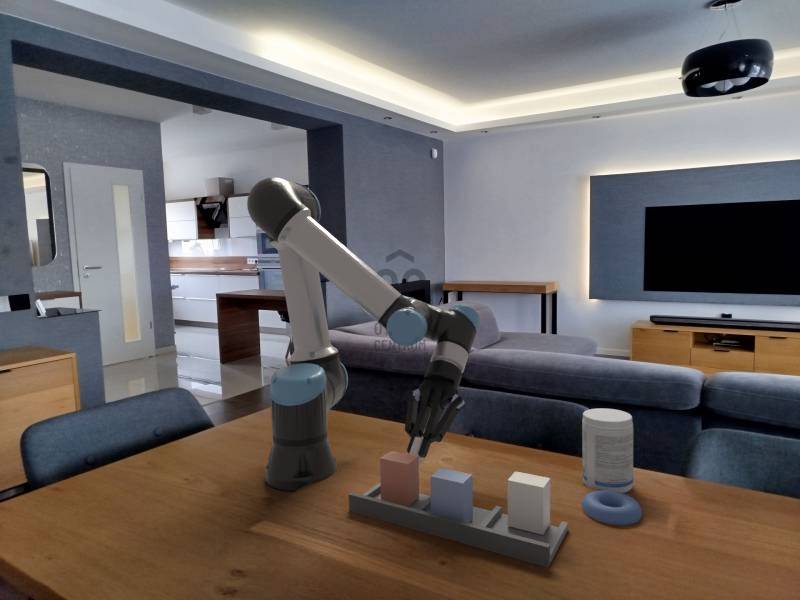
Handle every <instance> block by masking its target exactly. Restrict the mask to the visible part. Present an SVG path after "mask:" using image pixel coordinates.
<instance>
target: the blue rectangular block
mask: <svg viewBox="0 0 800 600" xmlns="http://www.w3.org/2000/svg"><path fill="white" fill-rule="evenodd" d="M473 478H474V477H473V473H467V472H462V471H458V470H453V469H449V468H444V467H440V468H439V469H437V470H436V471H435V472H434V473H433V474H432V475H430V496H431V513H433V514H437V515H441V516H445V517H449V518H452V519H456V520H460V521H464V522H468V523H470V522H471V521H472V520H473V506H474V496H473V494H474V490H473V489H474V488H473V486H474V482H473Z"/></svg>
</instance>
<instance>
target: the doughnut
mask: <svg viewBox="0 0 800 600" xmlns="http://www.w3.org/2000/svg"><path fill="white" fill-rule="evenodd" d="M581 511H582V512H583V513H584V514H585V516H587V517H588V518H591V519H592V520H595V521H598V522H600V523H604V524H607V525H610V526H611V525H612V526H613V525H614V526H630V525H633V524H637V523H638V522H639V521H641V520H642V515H643V512H642V511H643V510H642V508H641V505H640V504H639V503H638V502H637V500H636V499H634V498H633V497H631V496H629V495H628V494H626V493H620V492H616V491H609V490H600V489H599V490H594V491H591V492H589V493H587V494H586V495H584V497H583V499H582V501H581Z"/></svg>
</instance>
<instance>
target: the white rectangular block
mask: <svg viewBox="0 0 800 600" xmlns="http://www.w3.org/2000/svg"><path fill="white" fill-rule="evenodd" d="M507 515H508V526H510V527H514V528H518V529H522V530H525V531H529V532H533V533H537V534H541V535H544V533H545V531H546V530H547V528H548V526H549V525H551V477H547V476H540V475H536V474H531V473H526V472H520V471H516V470H515V471H514V472H513V474H511V476H510V477H509V478H508V479H507Z"/></svg>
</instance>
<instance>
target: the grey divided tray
mask: <svg viewBox="0 0 800 600" xmlns="http://www.w3.org/2000/svg"><path fill="white" fill-rule="evenodd" d="M502 510H503V507H502V506H499V505H496V506H494V508H492V510H490V509H487V508H481V507H477V506H474V505H473V520H472V521H471V522H470V523H468V522H464V521H460V520H456V519H452V518H449V517H445V516H441V515H437V514H433V513H431V495H429V494H425V493H424V494H423V493H420V492H419V498H418V499H417V500H416V501H415V502H414V503H413V504H411V505H410V506H409V507H408V506H404V505H400V504H396V503H393V502H389V501H385V500H381V481H380V482H378V483H376V484H375V485H374V486H373V487H371V488H369V489H368V490H367V491H365V492H364V493H362V494H361V493H357V492H350V493H349V494H348V511H349V512H353V513H356V514H360V515H364V516H367V517H370V518H374V519H378V520H381V521H385V522H388V523H392V524H396V525H398V526H402V527H406V528H409V529H413V530H416V531H420V532H423V533H427V534H430V535H432V536H433V535H434V536H437V537H441V538H444V539H447V540H452V541H454V542H459V543H461V544H465V545H469V546H473V547H476V548H479V549H483V550H487V551H490V552H493V553H497V554H501V555H504V556H508V557H511V558H514V559H518V560H522V561H525V562H529V563H532V564H536V565H540V566H543V567H546V568H549V567H550V565H551V563H552V561H553V559H554V558H555V555H556V553H557V552H558V549H559V548H560V546H561V544H562V542H563V540H564V538H565V536H566V534H567V533H568V531H569V522H566V521H561V523H560V524H559V526H555V525H551V524H550V525H549V526H548V528H547V530H546V531H545V533H544V535H541V534H537V533H533V532H529V531H525V530H522V529H518V528H514V527H510V526H508V514H506V513H503V511H502Z"/></svg>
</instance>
